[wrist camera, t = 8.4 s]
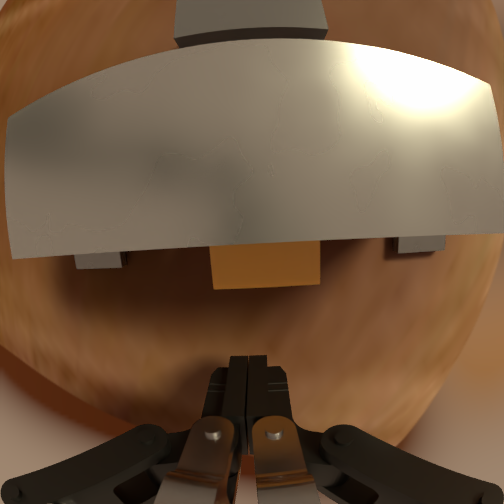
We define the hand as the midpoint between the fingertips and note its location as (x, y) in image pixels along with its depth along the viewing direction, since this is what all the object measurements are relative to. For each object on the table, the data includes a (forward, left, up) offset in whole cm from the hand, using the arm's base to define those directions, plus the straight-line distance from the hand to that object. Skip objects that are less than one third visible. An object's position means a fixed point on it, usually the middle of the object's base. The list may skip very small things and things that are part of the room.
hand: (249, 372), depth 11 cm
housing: (+3, +8, -3) cm, 9 cm away
